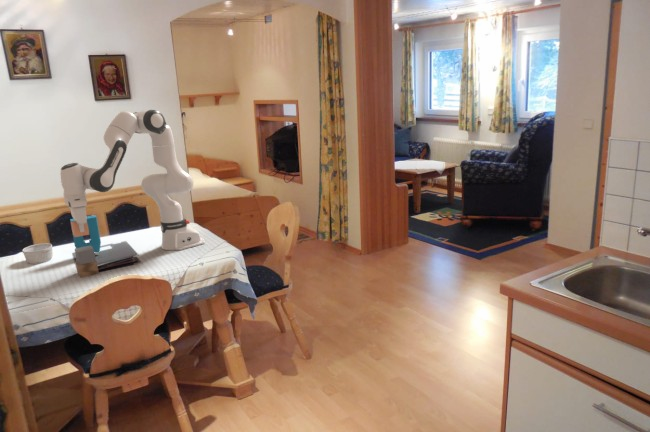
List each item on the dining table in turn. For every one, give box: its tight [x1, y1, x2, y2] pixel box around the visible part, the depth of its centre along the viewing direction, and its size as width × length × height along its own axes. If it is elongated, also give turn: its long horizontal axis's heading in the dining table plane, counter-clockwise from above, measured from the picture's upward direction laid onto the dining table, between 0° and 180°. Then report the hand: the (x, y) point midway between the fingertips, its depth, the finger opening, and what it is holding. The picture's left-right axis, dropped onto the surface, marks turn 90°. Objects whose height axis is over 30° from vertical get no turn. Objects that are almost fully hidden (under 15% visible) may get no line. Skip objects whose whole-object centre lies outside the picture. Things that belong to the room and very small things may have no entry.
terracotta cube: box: [70, 221, 90, 237], centre depth 232 cm, size 6×6×6 cm
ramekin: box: [22, 242, 53, 265], centre depth 258 cm, size 13×13×7 cm
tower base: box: [75, 260, 100, 278], centre depth 237 cm, size 8×8×6 cm
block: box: [69, 214, 102, 252], centre depth 260 cm, size 12×5×20 cm, turn 120°
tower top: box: [74, 246, 97, 265], centre depth 235 cm, size 7×7×6 cm
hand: (80, 229), depth 232 cm, fingers closed on terracotta cube, 6 cm apart
